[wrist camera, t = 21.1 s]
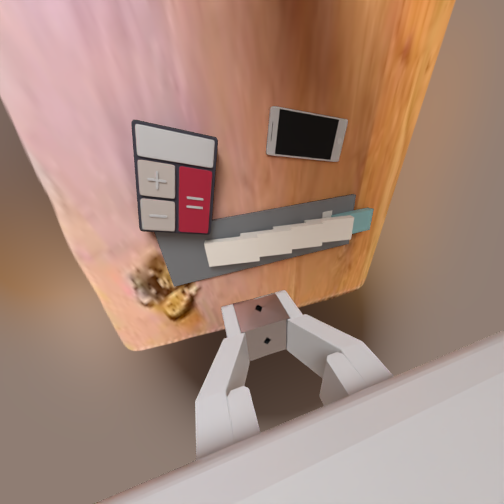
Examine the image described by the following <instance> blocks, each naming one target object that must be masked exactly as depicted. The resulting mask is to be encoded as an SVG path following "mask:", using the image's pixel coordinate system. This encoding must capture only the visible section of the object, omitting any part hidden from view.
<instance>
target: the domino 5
mask: <svg viewBox="0 0 504 504" xmlns="http://www.w3.org/2000/svg"><path fill="white" fill-rule="evenodd" d="M373 210H374V209H372V208H363V209H359V210H354V211H349V212H344V213H340V214H335V215H331V217H339V216H348V215H351V216H353V217H354V223H353V230H352V234H354V233H358V232H362V231H366V230H370V225H371V220H372V215H373Z"/></svg>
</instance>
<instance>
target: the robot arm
mask: <svg viewBox="0 0 504 504" xmlns="http://www.w3.org/2000/svg"><path fill="white" fill-rule="evenodd" d="M221 310H222V315H223V320H224V325H225V329H226V334H227V338H225V339H223V341H222V344H221V346H220V348H219V351H218V353H217V355H216V357H215V359H214V361H213V364H212V366H211V368H210V371H209V372H208V375H207V377H206V379H205V381H204V384H203V386H202V388H201V390H200V392H199V395H198V397H197V399H196V401H195V405H196V407H195V408H196V460H195V461H193V462H191V463H188V464H186V465H184V466H182V467H179V468H177V469H174V470H172V471H169V472H167V473H165V474H162V475H160V476H158V477H156V478H153V479H151V480H148V481H146V482H144V483H141V484H139V485H136V486H134V487H132V488H129V489H127V490H125V491H122V492H120V493H118V494H115V495H113V496H110V497H108V498H106V499H103V500H101V501H99V502H96V503H94V504H504V330H503V331H501V332H499V333H496V334H493V335H491V336H489V337H486V338H484V339H482V340H479V341H477V342H475V343H472V344H470V345H467V346H465V347H463V348H460V349H458V350H456V351H453V352H451V353H449V354H446V355H444V356H441V357H439V358H437V359H434V360H432V361H430V362H427V363H425V364H422V365H420V366H418V367H416V368H413V369H411V370H408V371H406V372H404V373H402V374H399V375H396V376H393V375H392V374H391V372H390V371H389V370H388V369H387V368H386V367H385V366H384V365H383V364H382V362H381V361H380V360H379V359H378V358H377V357H376V356H375V355H374V354H373V353H372V351H371V350H370V349H369V348H368V347H367V346H366V345H365V344H364V343H363V342H362V341H360V340H358V339H356V338H354V337H352V336H350V335H348V334H346V333H344V332H341V331H339V330H337V329H335V328H333V327H331V326H329V325H327V324H325V323H323V322H321V321H319V320H317V319H315V318H313V317H311V316H309V315H307V314H304V315H302V313H301V312H300V310H299V309H298V307H297V306H296V305H295V303H294V302H293V300H292V299H291V297H290V296H289V295H288V293H287V292H286V291H285V290H282V291H279V292H275V293H272V294H268V295H265V296H261V297H257V298H254V299H250V300H246V301H242V302H238V303H233V304H230V305H226V306H222V307H221ZM285 349H287V350H288V351H289V352H290V353H291V354H293V355H294V356H295V357H297V358H298V359H299V360H300V361H301V362H303V363H304V364H305V365H306V366H308V367H309V368H310V369H312V370H313V371H314V372H315V373H317V374H318V375H319V376H320V377H322V378H323V381H322V386H321V391H320V398H321V400H322V402H323V404H324V406H323V407H321V408H318V409H316V410H314V411H311V412H309V413H307V414H305V415H302V416H299V417H297V418H295V419H293V420H290V421H288V422H285V423H283V424H281V425H278V426H276V427H273V428H271V429H269V430H266V431H264V432H262V433H260V430H259V426H258V422H257V418H256V415H255V411H254V407H253V403H252V399H251V395H250V391H249V388H247V387H245V386H244V385H245V381H246V376H247V372H248V367H249V364H250V362H249V361H252V360H255V359H257V358H260V357H263V356H266V355H268V354H272V353H275V352H278V351H282V350H285Z"/></svg>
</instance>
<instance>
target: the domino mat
mask: <svg viewBox="0 0 504 504" xmlns="http://www.w3.org/2000/svg"><path fill="white" fill-rule="evenodd" d="M355 197H356V195H355V194H351V195H346V196H340V197H335V198H329V199H324V200H318V201H313V202H307V203H302V204H296V205H291V206H285V207H280V208H274V209H269V210H263V211H258V212H253V213H247V214H242V215H236V216H231V217H225V218H220V219H214V220H212V223H211V233H210V234H209V235H199V234H182V233H165V232H155V235H156V238H157V241H158V243H159V246H160V249H161V252H162V254H163V257H164V260H165V263H166V265H167V268H168V271H169V274H170V276H171V279H172V282H173V285H174V286H178V285H182V284H186V283H191V282H195V281H199V280H203V279H207V278H211V277H215V276H219V275H223V274H227V273H231V272H235V271H239V270H243V269H248V268H252V267H256V266H260V265H264V264H268V263H272V262H276V261H280V260H284V259H288V258H292V257H296V256H300V255H305V254H309V253H313V252H317V251H321V250H325V249H329V248H333V247H337V246H341V245H345V244H349V240H341V241H332V242H322V246H317V247H309V248H300V249H292V253H288V254H280V255H272V256H263V257H260V261H255V262H247V263H238V264H229V265H221V266H212V267H209V263H208V259H207V255H206V251H205V246H204V242H205V240H213V239H222V238H231V237H239V236H240V233H247V232H256V231H264V230H272V229H273V227H274V226H283V225H291V224H300V223H304V220H312V219H321V218H330V217H331V215H335V214H340V213H344V212H349V211H353V210H354V204H355Z"/></svg>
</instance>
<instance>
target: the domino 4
mask: <svg viewBox="0 0 504 504" xmlns="http://www.w3.org/2000/svg"><path fill="white" fill-rule="evenodd" d="M317 221H321V222H322V223H324V225H323V238H322V242H332V241H341V240H350V239H351V236H352V230H353V223H354V217H353V216H351V215H348V216H339V217H330V218H321V219H312V220H304V223H308V222H317Z"/></svg>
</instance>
